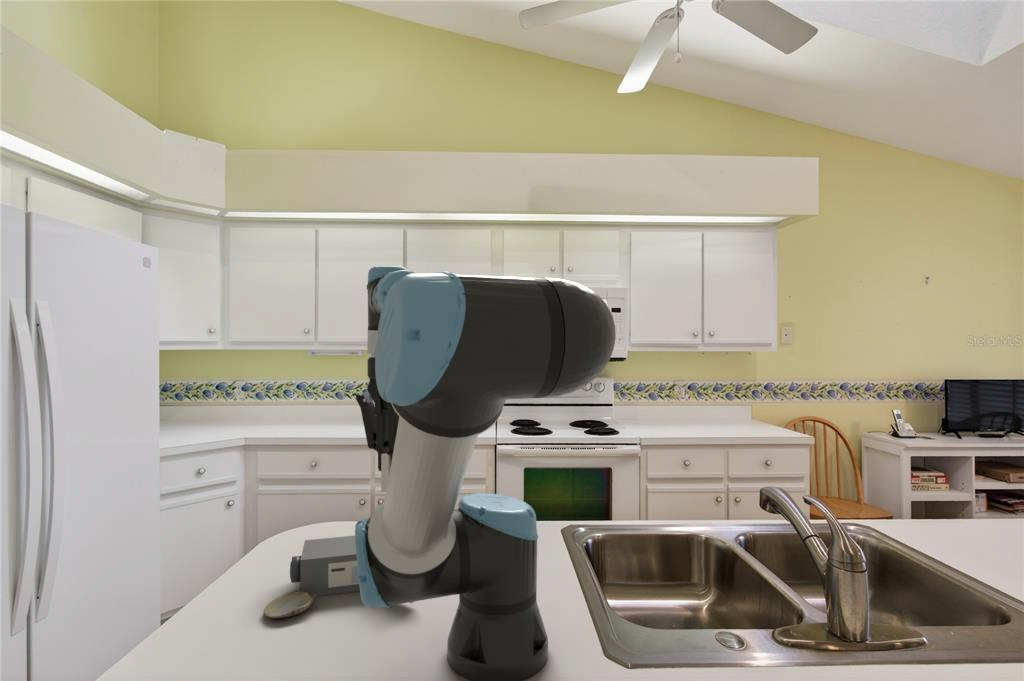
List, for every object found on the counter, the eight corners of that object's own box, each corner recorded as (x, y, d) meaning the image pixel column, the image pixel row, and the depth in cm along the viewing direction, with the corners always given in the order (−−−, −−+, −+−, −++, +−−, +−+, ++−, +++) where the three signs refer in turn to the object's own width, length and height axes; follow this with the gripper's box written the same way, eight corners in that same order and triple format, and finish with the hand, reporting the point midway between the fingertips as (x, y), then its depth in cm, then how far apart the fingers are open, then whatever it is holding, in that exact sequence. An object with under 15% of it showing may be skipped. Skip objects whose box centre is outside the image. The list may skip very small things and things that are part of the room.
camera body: (390, 587, 104) (390, 547, 104) (288, 600, 99) (288, 557, 99) (387, 566, 113) (387, 529, 113) (293, 576, 108) (293, 537, 108)
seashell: (277, 612, 98) (254, 625, 90) (277, 594, 99) (254, 605, 91) (322, 605, 98) (303, 617, 90) (321, 587, 99) (302, 597, 91)
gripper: (432, 355, 97) (432, 488, 97) (372, 354, 102) (372, 481, 102) (409, 357, 90) (409, 500, 90) (345, 355, 95) (345, 491, 95)
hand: (389, 489), depth 96 cm, fingers closed
